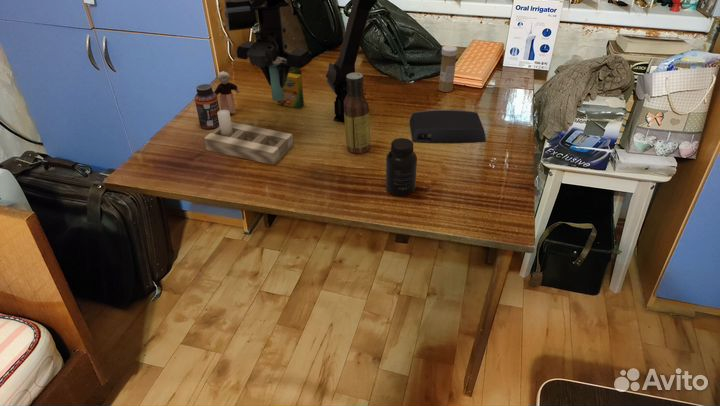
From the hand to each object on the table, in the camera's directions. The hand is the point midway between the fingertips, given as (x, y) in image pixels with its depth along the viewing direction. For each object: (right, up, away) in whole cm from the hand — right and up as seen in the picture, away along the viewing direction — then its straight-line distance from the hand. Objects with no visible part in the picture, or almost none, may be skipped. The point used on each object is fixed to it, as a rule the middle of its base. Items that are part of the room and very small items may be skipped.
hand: (276, 86), depth 137 cm
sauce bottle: (+21, -16, -1) cm, 27 cm away
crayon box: (+1, -1, +20) cm, 20 cm away
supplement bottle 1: (-20, -9, +10) cm, 24 cm away
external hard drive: (+45, -11, +6) cm, 47 cm away
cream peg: (-13, -15, +2) cm, 20 cm away
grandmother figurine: (-16, -4, +16) cm, 23 cm away
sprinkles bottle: (+48, +5, +27) cm, 56 cm away
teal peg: (0, -3, +2) cm, 4 cm away
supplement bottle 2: (+31, -27, -15) cm, 44 cm away
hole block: (-7, -16, 0) cm, 18 cm away
